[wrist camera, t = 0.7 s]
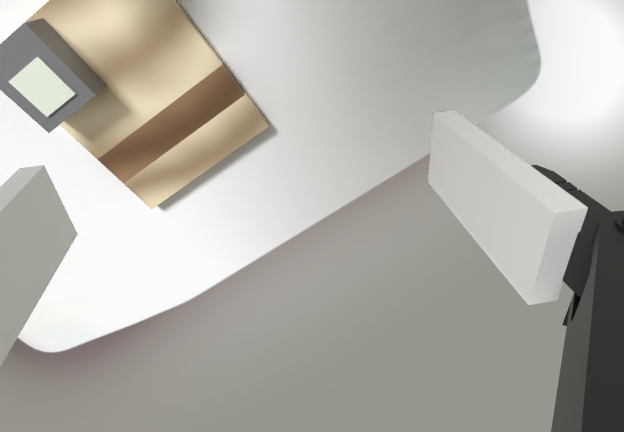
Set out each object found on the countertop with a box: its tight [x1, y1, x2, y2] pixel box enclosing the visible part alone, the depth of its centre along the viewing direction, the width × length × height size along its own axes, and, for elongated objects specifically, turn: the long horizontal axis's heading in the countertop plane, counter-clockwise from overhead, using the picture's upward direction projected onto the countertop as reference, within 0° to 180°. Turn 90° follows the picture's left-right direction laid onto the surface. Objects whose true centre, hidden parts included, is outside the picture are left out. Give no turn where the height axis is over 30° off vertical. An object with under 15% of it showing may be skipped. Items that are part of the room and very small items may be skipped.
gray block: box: [0, 18, 107, 133], centre depth 31 cm, size 6×5×3 cm
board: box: [25, 0, 269, 209], centre depth 35 cm, size 17×14×1 cm
